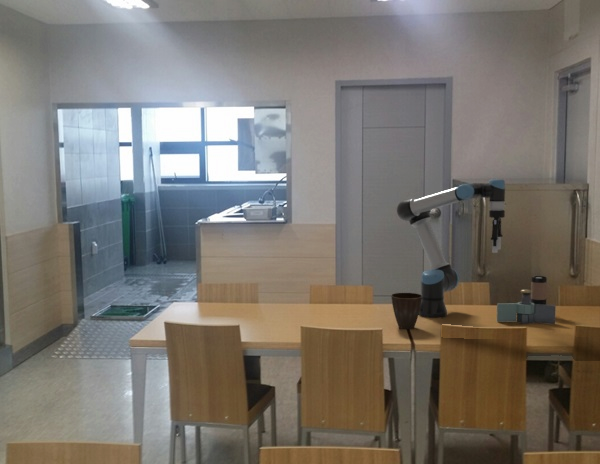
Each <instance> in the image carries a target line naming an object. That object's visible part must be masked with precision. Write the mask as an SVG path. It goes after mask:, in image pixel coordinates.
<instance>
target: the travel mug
mask: <svg viewBox="0 0 600 464" xmlns="http://www.w3.org/2000/svg"><path fill="white" fill-rule="evenodd" d="M530 280H531V281H530V282H531V283H530V290H532V293H530V303H534V304H544V305H547V286H548V283H547V281H548V278H547V277H546V276H544V275H535V276H531V279H530Z"/></svg>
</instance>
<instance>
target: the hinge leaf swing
mask: <svg viewBox="0 0 600 464" xmlns="http://www.w3.org/2000/svg"><path fill="white" fill-rule="evenodd" d="M517 313H520V314H533V313H535V304H534V303H531V302H530V305H523V304H522V301H519V302H515V303H512V302H511V303H509V302H507V303H496V322H497V323H498V322H501V323H502V322H503V323H504V322H505V323H507V322H508V323H509V322H511V323H512V322H516V323H517Z"/></svg>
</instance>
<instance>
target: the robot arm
mask: <svg viewBox="0 0 600 464" xmlns="http://www.w3.org/2000/svg"><path fill="white" fill-rule="evenodd" d="M505 182H506V181H505V180H504V179H501V178H498V179H496V178H495V179H494V178H493V179H489V183H488V182H485V183H484V182H481V183H480V182H472V183H463V184H461V185H458V186H455V187H452V188H450V189H446V190H443V191H440V192H436V193H433V194H432V193H431V194H430V195H426V196H423V197H421V198H410V199H409V198H408V199H403V200H402V201H400V202H399V203H398V205H397V207H396V214H397V216H398V218H400V219H401V220H403V221H405V222H407V221H408V222H409V224H410V227H413V228H414V229H415V231H416V233H417V236H418V238H419V240H420V243H421V246H422V248H423V251H424V253H425V256H426V258H427V260H428V263H429V266H430V269H428V270H424V271H423V272H422V273H421V278H420V283H421V285H420V287H421V288H420V289H421V290H420V291H421V294H420V295H422V301H421V306H420V311H419V315H418V317H422V318H423V317H424V318H432V319H434V318H435V319H436V318H437V319H438V318H444V317H447V316H448V309H447V307H446V303H445V300H444V299H445V295H444V293H447V292H450V291H452V290H454V289H456V288H457V287H458V285H459V283H460V276H459V273H458V272H457V270H455V269H454V268H452V266H451V264H450V263H449V262H447V261H446V259H445V256H444V253H443V251H442V249H441V247H440V244H439V242H438V240H437V237H436V234H435V232H434V230H433V227H432V225H431V223H430V222H431V219H432V217H431V211H433V210H436V209H439V208H441V207H445V206H449V205H452V204H453V205H454V204H456V203H460V202H463V201H467V200H469V199H484V198H485V199H486V198H487V199H489V203H488V205H489V207H488V208H489V211H488V212H489V213H488V214H489V215H488V216H489V218H493V219H492V221H491V222H492V227H491V228H492V230H491V232H492V233H491V238H490V241H491V243H492V244H491V253H493V254H495V253H496V254H498V253H499V250H502V237H503V234H502V219H503V218H505V216H506V215H505V213H506V212H505V211H506V210H505V208H506V205H507V204H506V203H505V202H506V200H505V199H506V183H505Z"/></svg>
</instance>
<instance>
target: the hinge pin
mask: <svg viewBox="0 0 600 464" xmlns="http://www.w3.org/2000/svg"><path fill="white" fill-rule="evenodd" d="M520 293H521V302H522V304H523V305H530V303H531V293H532V290H531V289H525V288H524V289H520Z"/></svg>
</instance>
